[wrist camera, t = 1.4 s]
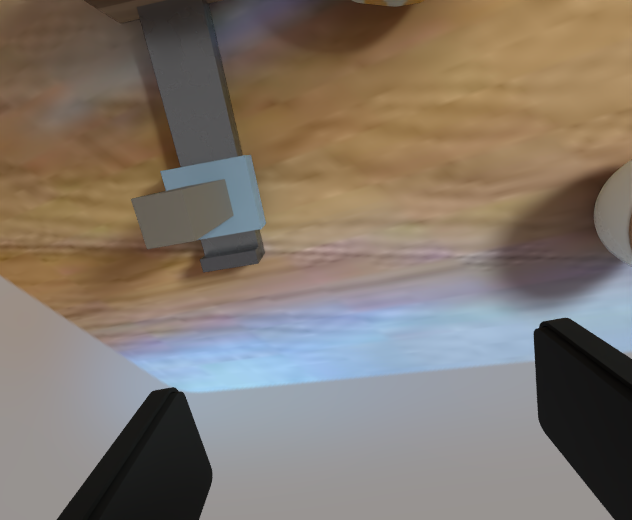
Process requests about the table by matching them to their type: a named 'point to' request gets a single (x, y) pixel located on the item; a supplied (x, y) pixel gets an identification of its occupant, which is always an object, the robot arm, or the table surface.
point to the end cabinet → (124, 8)
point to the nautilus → (389, 2)
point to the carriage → (201, 203)
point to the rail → (197, 106)
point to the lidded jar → (616, 214)
